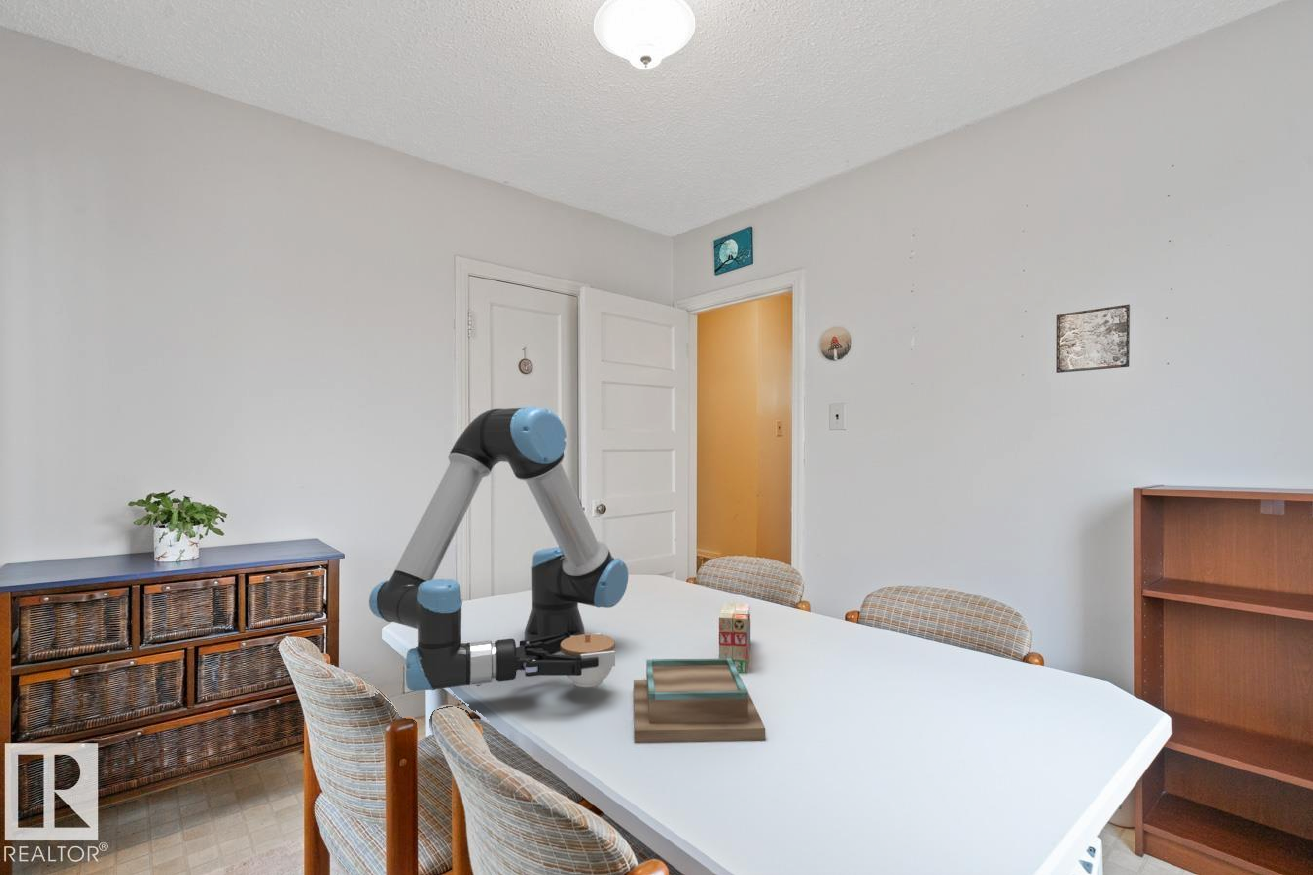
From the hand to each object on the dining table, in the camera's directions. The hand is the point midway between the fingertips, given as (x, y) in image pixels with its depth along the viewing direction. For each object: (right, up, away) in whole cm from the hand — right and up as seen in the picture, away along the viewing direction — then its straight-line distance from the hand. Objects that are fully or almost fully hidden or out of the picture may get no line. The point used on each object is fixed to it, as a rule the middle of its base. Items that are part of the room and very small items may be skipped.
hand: (607, 648), depth 123 cm
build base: (+17, -9, -9) cm, 21 cm away
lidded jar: (-4, -6, -1) cm, 8 cm away
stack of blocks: (+28, -10, +21) cm, 37 cm away
